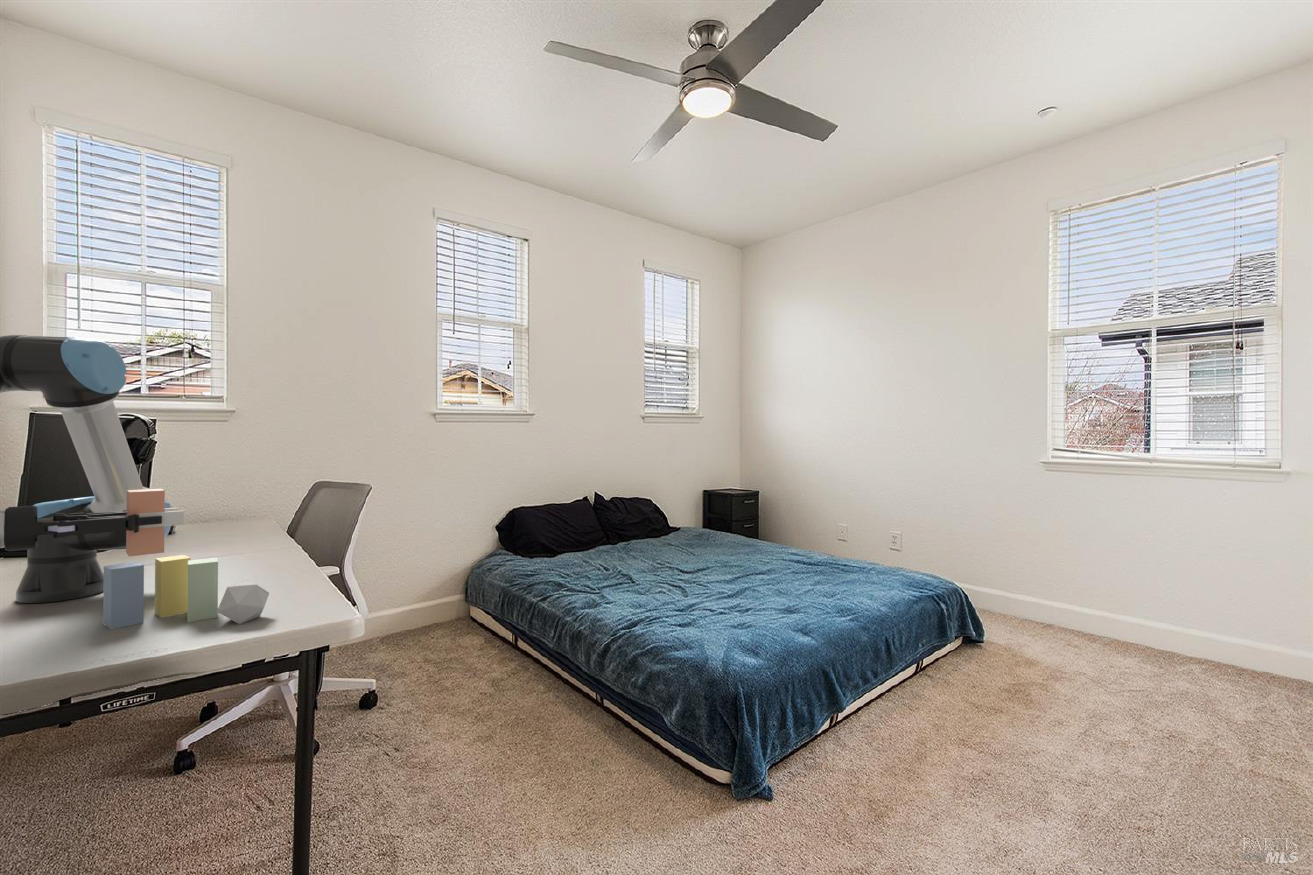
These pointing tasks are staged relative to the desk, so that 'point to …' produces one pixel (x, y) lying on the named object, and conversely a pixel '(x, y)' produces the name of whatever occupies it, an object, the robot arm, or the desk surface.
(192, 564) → the sage pillar
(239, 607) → the die
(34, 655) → the desk surface
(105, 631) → the desk surface
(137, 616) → the slate pillar
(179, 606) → the mustard pillar
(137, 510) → the terracotta pillar
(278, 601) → the desk surface
